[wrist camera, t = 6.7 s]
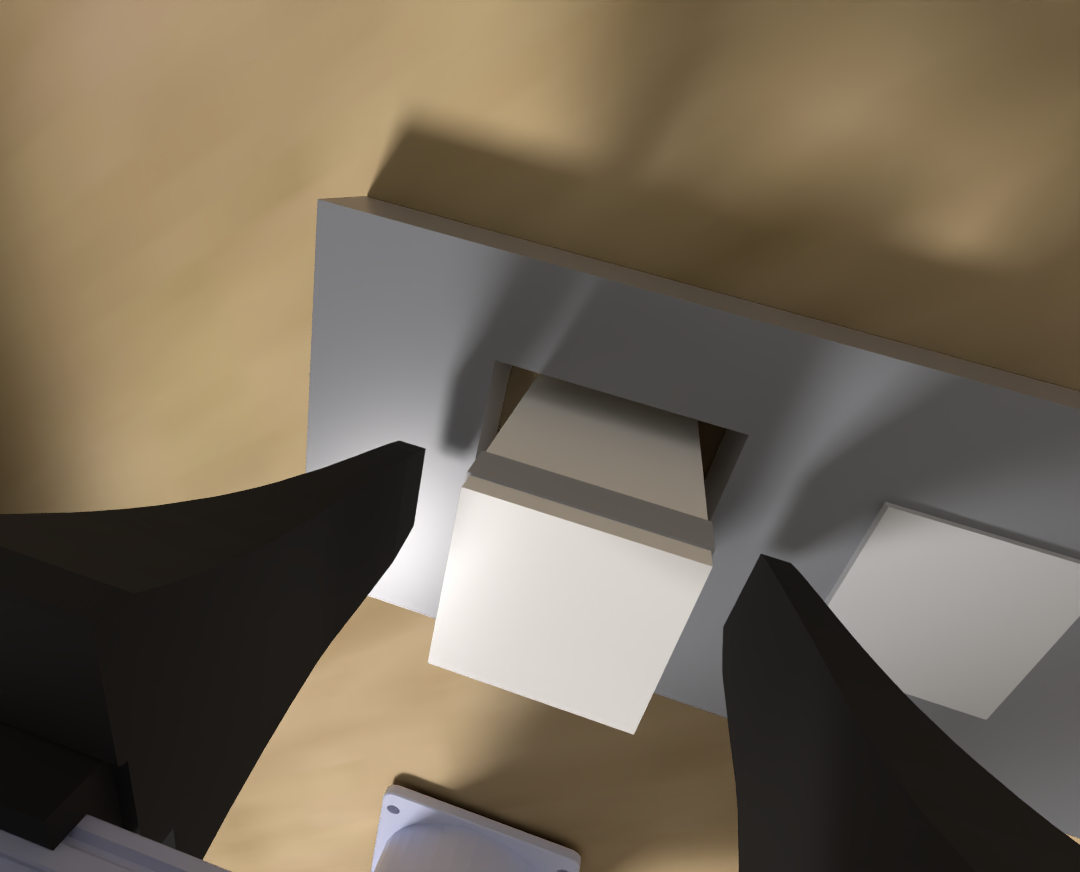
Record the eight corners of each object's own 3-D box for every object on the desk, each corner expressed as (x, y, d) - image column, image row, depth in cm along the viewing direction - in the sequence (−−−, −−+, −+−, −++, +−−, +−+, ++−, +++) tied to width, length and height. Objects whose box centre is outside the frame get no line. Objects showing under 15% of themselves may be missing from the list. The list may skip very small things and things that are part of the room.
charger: (648, 546, 16) (635, 737, 10) (507, 501, 16) (424, 663, 11) (700, 414, 14) (717, 565, 8) (539, 367, 14) (459, 483, 9)
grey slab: (1496, 505, 11) (1756, 608, 8) (1140, 799, 16) (1237, 928, 13) (365, 195, 13) (288, 201, 11) (338, 533, 18) (279, 596, 15)
